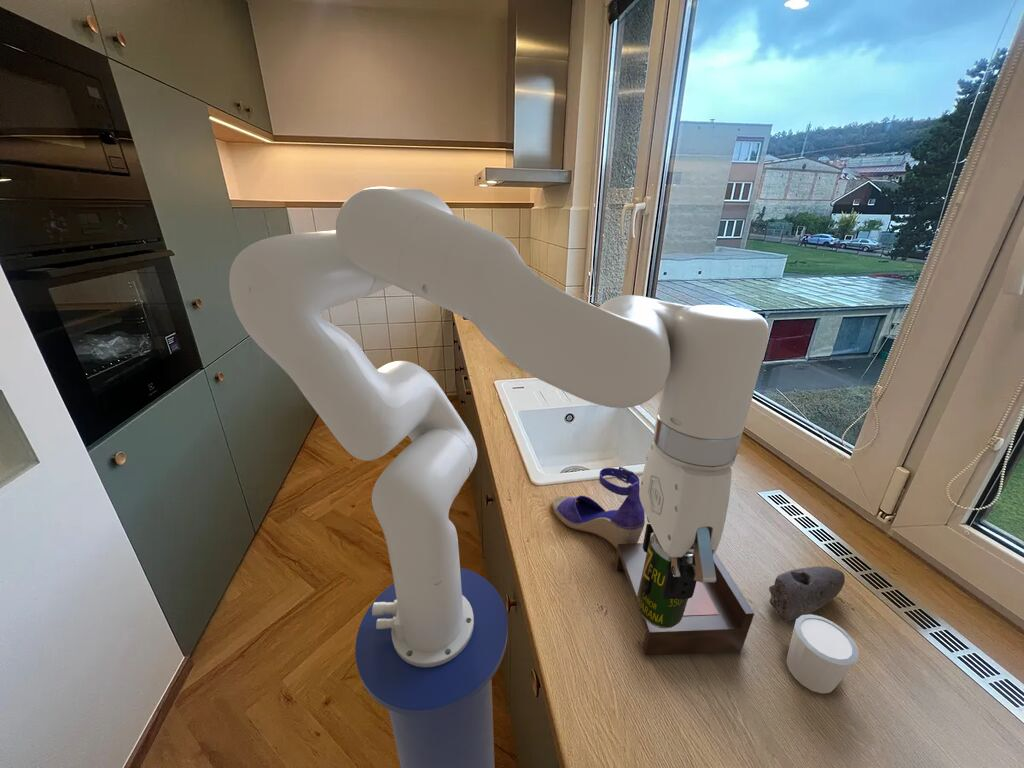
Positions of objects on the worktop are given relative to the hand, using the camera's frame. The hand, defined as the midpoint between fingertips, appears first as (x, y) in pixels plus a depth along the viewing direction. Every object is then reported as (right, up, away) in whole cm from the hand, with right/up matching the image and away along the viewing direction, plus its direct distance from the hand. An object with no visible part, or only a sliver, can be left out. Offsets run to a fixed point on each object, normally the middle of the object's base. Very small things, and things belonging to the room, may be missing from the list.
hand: (665, 571), depth 47 cm
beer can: (0, -6, +3) cm, 7 cm away
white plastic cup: (+23, -18, +10) cm, 31 cm away
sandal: (-2, -7, +34) cm, 35 cm away
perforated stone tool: (+29, -14, +19) cm, 37 cm away
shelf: (+8, -14, +19) cm, 25 cm away
